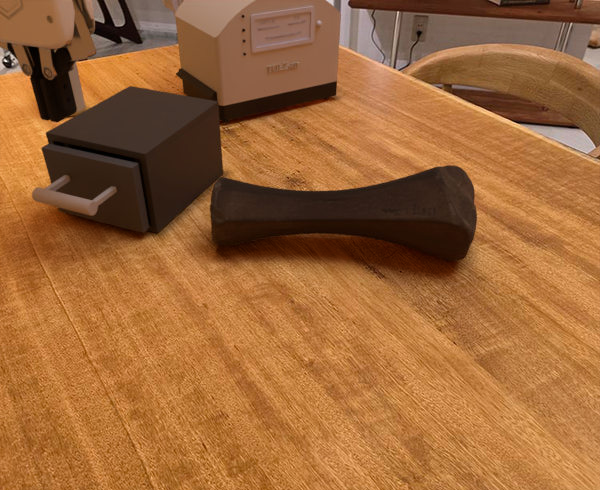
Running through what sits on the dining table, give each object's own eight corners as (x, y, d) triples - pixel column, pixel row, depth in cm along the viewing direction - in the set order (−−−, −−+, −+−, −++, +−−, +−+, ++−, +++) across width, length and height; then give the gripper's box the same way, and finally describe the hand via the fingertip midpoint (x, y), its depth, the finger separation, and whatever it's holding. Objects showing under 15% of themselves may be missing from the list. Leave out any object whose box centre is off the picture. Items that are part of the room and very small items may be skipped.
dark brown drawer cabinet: (157, 233, 66) (144, 153, 60) (66, 210, 69) (45, 132, 63) (223, 173, 77) (218, 101, 71) (141, 156, 81) (130, 85, 75)
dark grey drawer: (116, 257, 61) (101, 189, 56) (28, 233, 64) (6, 167, 59) (208, 175, 75) (203, 116, 70) (132, 159, 78) (122, 101, 73)
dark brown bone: (468, 253, 67) (227, 269, 70) (466, 159, 65) (218, 178, 68) (492, 266, 57) (206, 284, 59) (490, 154, 55) (195, 177, 57)
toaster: (217, 129, 88) (208, 1, 77) (152, 79, 104) (137, -33, 93) (343, 99, 98) (350, -17, 87) (266, 58, 114) (264, -45, 103)
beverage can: (47, 114, 91) (26, 32, 83) (67, 103, 94) (48, 23, 87) (74, 119, 90) (54, 36, 82) (93, 108, 93) (76, 27, 86)
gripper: (-116, -122, 44) (-32, 117, 55) (45, -112, 40) (100, 145, 51) (-37, -128, 49) (25, 91, 61) (113, -120, 45) (149, 114, 57)
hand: (59, 115), depth 56 cm, fingers closed
